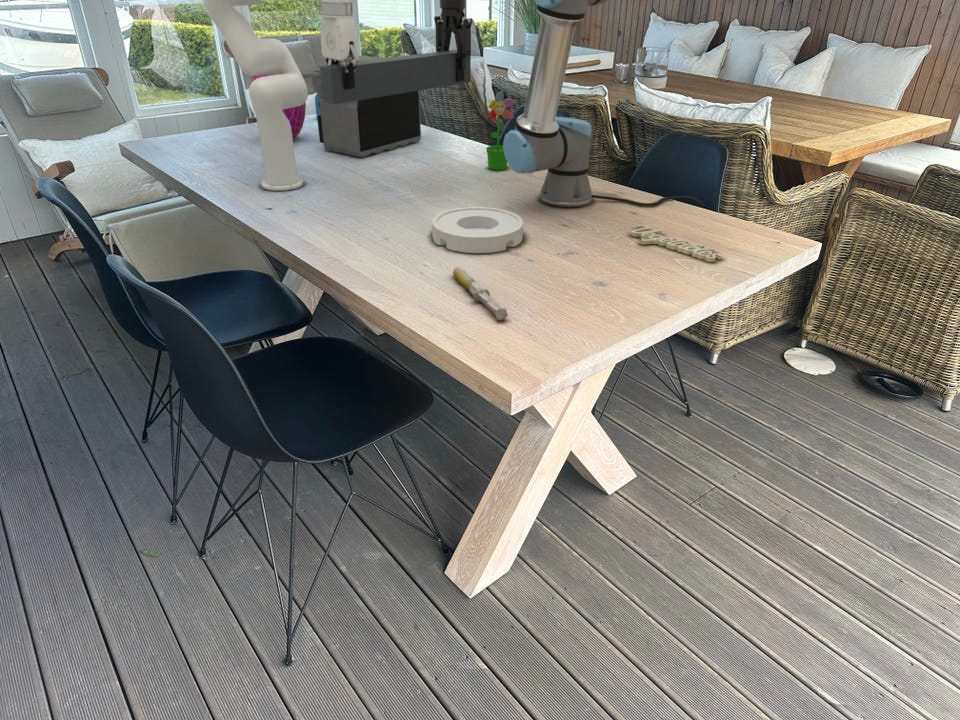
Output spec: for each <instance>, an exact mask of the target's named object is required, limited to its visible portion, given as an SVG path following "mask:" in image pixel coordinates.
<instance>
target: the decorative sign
mask: <svg viewBox="0 0 960 720" xmlns="http://www.w3.org/2000/svg"><path fill="white" fill-rule="evenodd" d="M650 229H651V227H650V226H648V225H644V224H637V225H636V229H632V230H631V231H630V236H631V237H634V238H640V245H643V246H644V245H646V246H647V245H658V246H660V247H666V248H667V249H669V250H671V251H677V252H678V253H682V254H685V255H691V256H692V257H693V258H697V259H699V260H704V261H705V262H709V263H714V262H716V260H719V261H720V260H721V259H722V254H721V253H718V252H715V250H716V249H715V248H714V247H705V245H706V244H700V243H699V244H690V243H689V241H688V240H686V239H682V238H681V239H680V238H677V237H673V238H671V237H667V236H663V235H662V234H663V230H662V229H652V230H650Z"/></svg>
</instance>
